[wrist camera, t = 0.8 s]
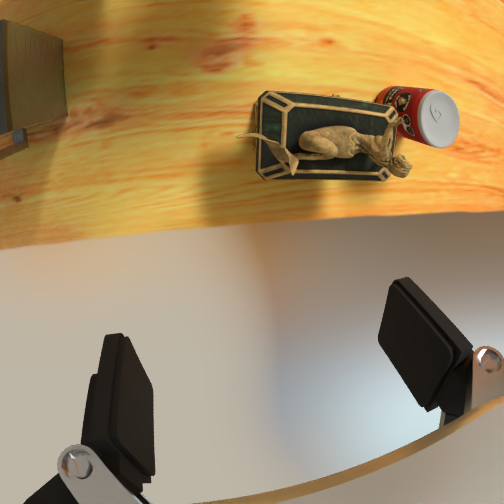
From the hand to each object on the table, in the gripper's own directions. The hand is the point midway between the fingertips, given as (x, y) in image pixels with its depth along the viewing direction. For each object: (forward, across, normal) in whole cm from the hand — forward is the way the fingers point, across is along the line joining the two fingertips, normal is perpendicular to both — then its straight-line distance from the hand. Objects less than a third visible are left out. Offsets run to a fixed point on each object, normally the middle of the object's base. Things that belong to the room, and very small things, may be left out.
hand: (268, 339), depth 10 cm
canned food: (+34, -29, -4) cm, 45 cm away
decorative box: (+34, -12, -2) cm, 36 cm away
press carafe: (+34, +23, -13) cm, 43 cm away
